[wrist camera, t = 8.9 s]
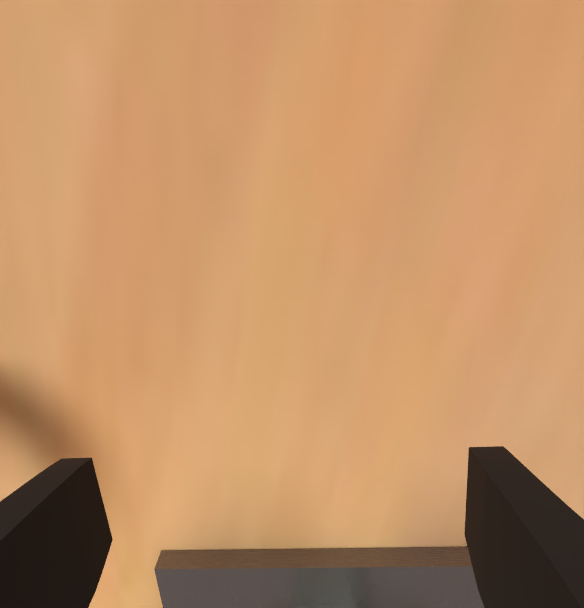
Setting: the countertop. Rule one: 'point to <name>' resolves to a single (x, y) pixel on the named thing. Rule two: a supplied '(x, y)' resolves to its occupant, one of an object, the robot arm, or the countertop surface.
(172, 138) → the countertop surface
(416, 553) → the standoff plate
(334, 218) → the countertop surface
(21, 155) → the countertop surface
